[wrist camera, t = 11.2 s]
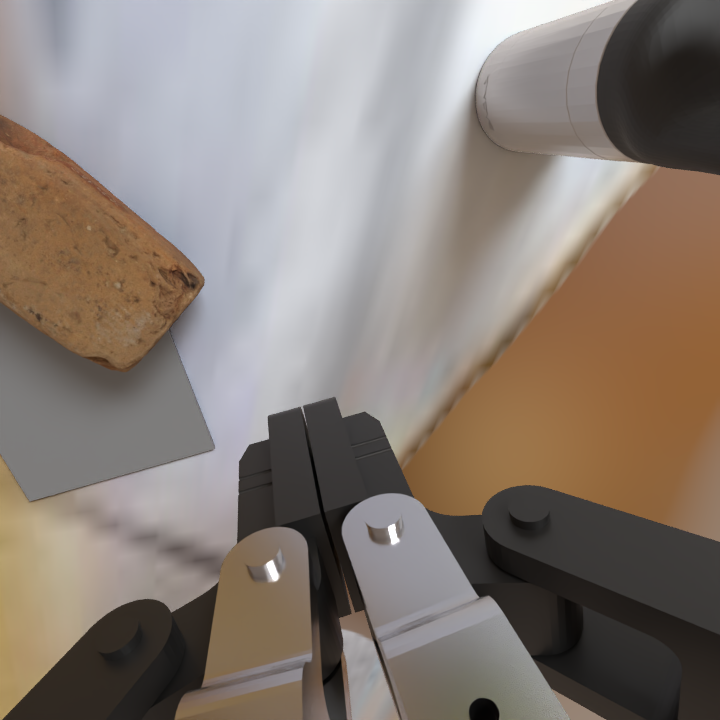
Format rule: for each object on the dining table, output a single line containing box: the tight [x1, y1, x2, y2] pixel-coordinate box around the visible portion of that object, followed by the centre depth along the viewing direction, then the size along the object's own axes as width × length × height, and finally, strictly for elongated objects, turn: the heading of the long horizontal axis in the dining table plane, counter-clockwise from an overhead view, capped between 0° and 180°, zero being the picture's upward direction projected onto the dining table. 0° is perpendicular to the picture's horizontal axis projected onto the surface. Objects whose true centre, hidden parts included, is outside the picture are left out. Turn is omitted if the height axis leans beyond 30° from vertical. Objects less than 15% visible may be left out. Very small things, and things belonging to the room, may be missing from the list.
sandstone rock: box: [0, 115, 204, 372], centre depth 39 cm, size 11×8×20 cm
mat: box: [0, 303, 215, 501], centre depth 47 cm, size 18×22×1 cm
